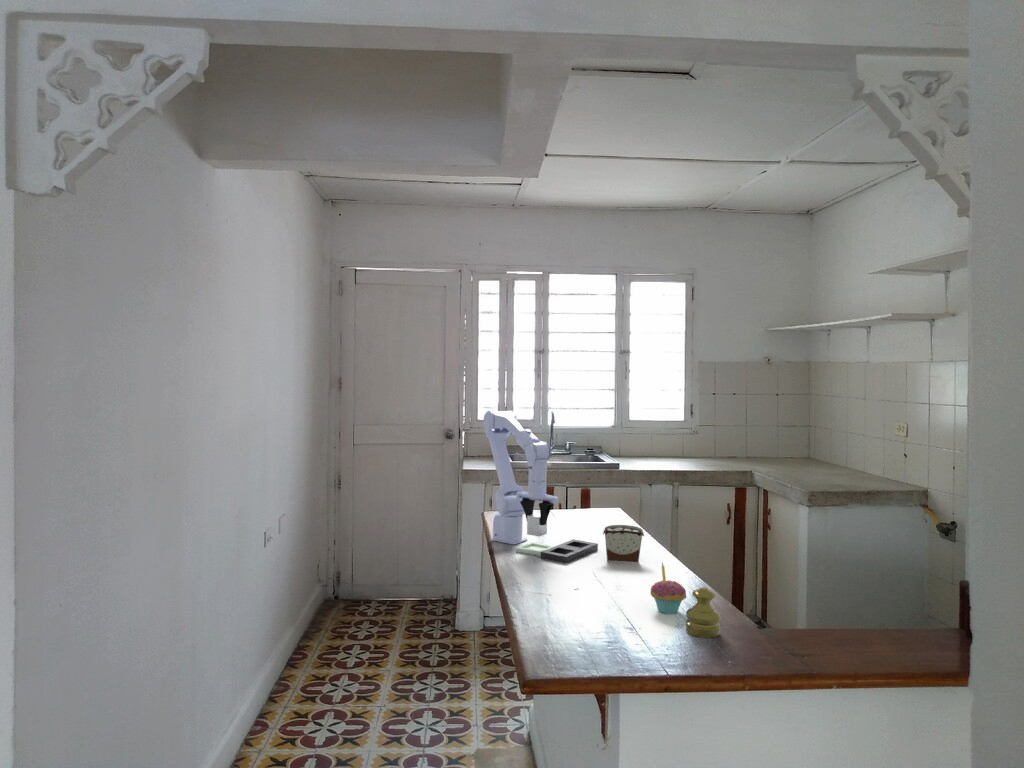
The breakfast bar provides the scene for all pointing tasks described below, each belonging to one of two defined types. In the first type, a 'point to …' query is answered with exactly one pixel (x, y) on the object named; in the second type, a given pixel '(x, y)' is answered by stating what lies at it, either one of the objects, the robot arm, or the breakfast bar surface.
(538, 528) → the grey rectangular block
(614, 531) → the food container
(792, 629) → the breakfast bar surface
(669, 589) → the cupcake
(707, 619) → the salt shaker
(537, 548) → the parts tray
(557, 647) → the breakfast bar surface
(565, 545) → the dark grey rectangular frame
